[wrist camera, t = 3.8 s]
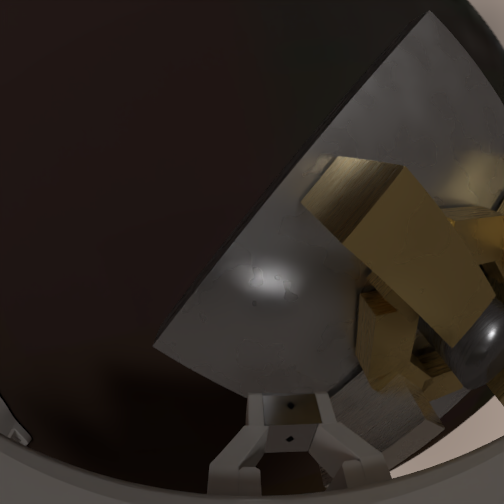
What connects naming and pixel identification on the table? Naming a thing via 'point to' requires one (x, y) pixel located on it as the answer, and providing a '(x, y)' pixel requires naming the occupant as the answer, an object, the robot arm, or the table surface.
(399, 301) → the gold propeller
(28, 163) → the table surface
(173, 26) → the table surface
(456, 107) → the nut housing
